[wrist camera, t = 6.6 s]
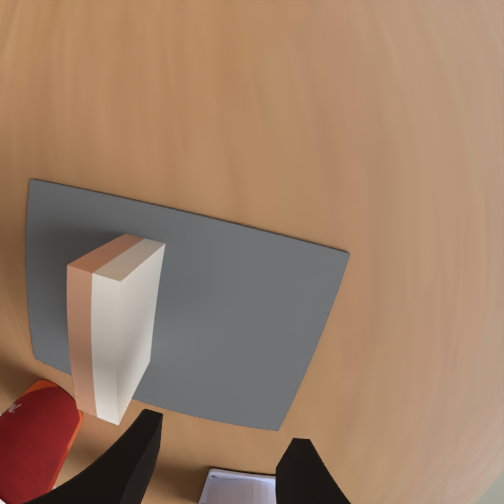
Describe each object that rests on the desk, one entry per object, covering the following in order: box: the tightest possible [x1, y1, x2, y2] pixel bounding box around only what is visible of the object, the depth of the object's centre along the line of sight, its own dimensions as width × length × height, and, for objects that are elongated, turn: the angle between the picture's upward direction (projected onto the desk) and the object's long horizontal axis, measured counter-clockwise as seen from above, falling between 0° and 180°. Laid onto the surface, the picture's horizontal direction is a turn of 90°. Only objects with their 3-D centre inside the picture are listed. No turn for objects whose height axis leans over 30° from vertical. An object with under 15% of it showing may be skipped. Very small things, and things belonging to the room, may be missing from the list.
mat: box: [26, 179, 350, 431], centre depth 17 cm, size 14×20×1 cm
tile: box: [67, 234, 165, 425], centre depth 14 cm, size 8×2×6 cm, turn 166°
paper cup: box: [0, 380, 83, 504], centre depth 13 cm, size 8×8×14 cm
